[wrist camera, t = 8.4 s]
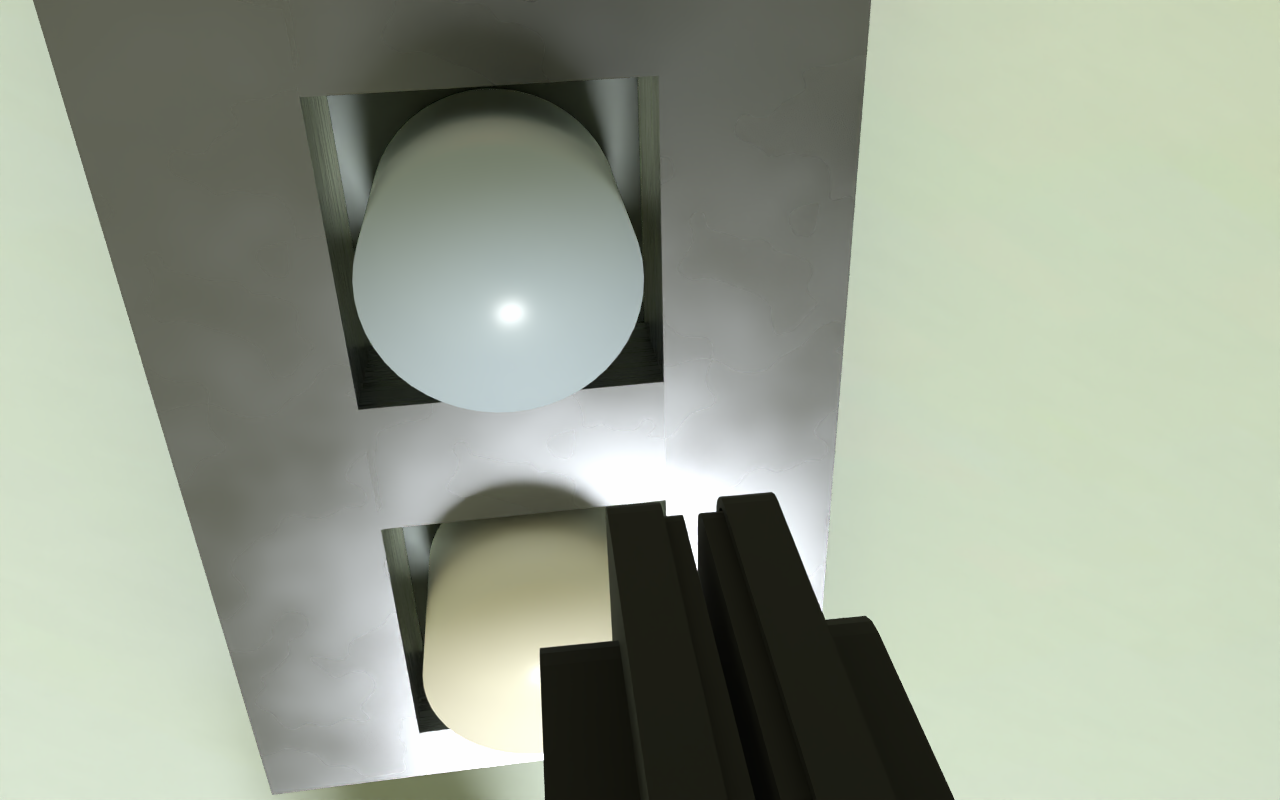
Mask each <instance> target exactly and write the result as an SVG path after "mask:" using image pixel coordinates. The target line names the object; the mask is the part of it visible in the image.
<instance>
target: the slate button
mask: <svg viewBox="0 0 1280 800" xmlns="http://www.w3.org/2000/svg"><path fill="white" fill-rule="evenodd" d="M352 283H353V293H354V301H355V305H356V309H357V313H358V317H359V319H360V322H361V324H362V326H363V329H364V331H365V334H366V335H367V337H368V339H369V341H370V342H371V344H372V346H373V347H374V349H375V350H376V352H377V353H378V354H379V355H380V357H381V358H382V359H383V361H384V362H385V363H386V364H387V365H388V366H389V367H390V368H391V369H392V370H393V371H394V372H395V373H396V374H397V375H398V376H399V377H401V378H402V379H403V380H404V381H406V382H407V383H408V384H410V385H411V386H412V387H414V388H416V389H417V390H419V391H421V392H422V393H424V394H426V395H428V396H430V397H432V398H434V399H437V400H439V401H441V402H443V403H447V404H450V405H453V406H456V407H459V408H464V409H469V410H474V411H482V412H495V413H498V412H517V411H523V410H530V409H534V408H538V407H542V406H545V405H549V404H551V403H554V402H557V401H559V400H562V399H564V398H566V397H568V396H570V395H572V394H574V393H575V392H577V391H579V390H581V389H582V388H584V387H585V386H586V385H588V384H589V383H591V382H592V381H594V380H595V379H596V378H597V377H598V376H599V375H600V374H602V373H603V372H604V371H605V370H606V369H607V368H608V367H609V366H610V364H611V363H612V362H613V361H614V360H615V359H616V358H617V356H618V355H619V354H620V352H621V351H622V349H623V348H624V346H625V345H626V343H627V341H628V339H629V337H630V335H631V333H632V331H633V329H634V327H635V324H636V321H637V318H638V315H639V312H640V308H641V303H642V298H643V287H644V272H643V262H642V256H641V252H640V248H639V244H638V241H637V238H636V235H635V233H634V230H633V227H632V225H631V222H630V219H629V217H628V214H627V211H626V209H625V206H624V203H623V201H622V198H621V195H620V193H619V190H618V187H617V185H616V182H615V179H614V176H613V174H612V171H611V169H610V166H609V164H608V161H607V159H606V157H605V155H604V153H603V152H602V150H601V148H600V146H599V145H598V143H597V142H596V141H595V139H594V138H593V137H592V135H591V134H590V133H589V132H588V131H587V130H586V129H585V128H584V127H583V126H582V125H581V124H580V123H579V122H578V121H577V120H576V119H575V118H574V117H572V116H571V115H570V114H568V113H567V112H566V111H565V110H563V109H561V108H559V107H558V106H556V105H554V104H553V103H551V102H549V101H546V100H544V99H542V98H539V97H537V96H534V95H531V94H527V93H523V92H520V91H514V90H507V89H478V90H470V91H465V92H461V93H457V94H454V95H450V96H448V97H446V98H443V99H441V100H438V101H436V102H434V103H432V104H431V105H429V106H427V107H426V108H424V109H422V110H421V111H419V112H418V113H417V114H416V115H414V116H413V117H412V118H411V119H409V120H408V121H407V122H406V123H405V124H404V125H403V126H402V127H401V128H400V130H399V131H398V132H397V133H396V134H395V136H394V137H393V138H392V140H391V141H390V143H389V144H388V146H387V147H386V149H385V151H384V153H383V155H382V157H381V159H380V162H379V165H378V167H377V170H376V173H375V177H374V181H373V184H372V188H371V192H370V196H369V200H368V204H367V208H366V212H365V215H364V219H363V223H362V227H361V231H360V235H359V239H358V243H357V247H356V252H355V257H354V262H353V280H352Z"/></svg>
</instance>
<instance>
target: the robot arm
mask: <svg viewBox="0 0 1280 800" xmlns="http://www.w3.org/2000/svg"><path fill="white" fill-rule="evenodd" d="M606 534H607V552H608V570H609V588H610V607H611V625H612V641H606V642H596V643H586V644H576V645H566V646H555V647H545V648H540V682H541V708H542V733H543V759H544V784H545V800H954V797H953V795H952V793H951V791H950V789H949V786H948V784H947V782H946V780H945V778H944V775H943V773H942V771H941V769H940V767H939V764H938V762H937V760H936V758H935V756H934V753H933V751H932V749H931V747H930V745H929V742H928V740H927V738H926V736H925V734H924V731H923V729H922V727H921V725H920V723H919V720H918V718H917V716H916V714H915V712H914V709H913V707H912V705H911V703H910V701H909V698H908V696H907V694H906V692H905V690H904V687H903V685H902V683H901V681H900V679H899V676H898V674H897V672H896V670H895V668H894V666H893V663H892V661H891V659H890V657H889V655H888V652H887V650H886V648H885V646H884V644H883V641H882V639H881V637H880V635H879V633H878V631H877V629H876V627H875V626H874V624H873V622H872V621H871V620H870V619H869V618H867V617H866V616H860V617H850V618H839V619H829V620H825V618H824V615H823V613H822V610H821V608H820V605H819V603H818V600H817V598H816V595H815V592H814V590H813V587H812V585H811V582H810V580H809V577H808V575H807V572H806V570H805V567H804V565H803V562H802V560H801V557H800V555H799V552H798V550H797V547H796V545H795V542H794V539H793V537H792V534H791V532H790V529H789V527H788V524H787V522H786V519H785V517H784V514H783V512H782V509H781V507H780V504H779V502H778V499H777V497H776V495H775V494H774V493H773V492H767V493H755V494H744V495H733V496H721V497H719V498H718V499H717V505H716V512H705V513H699V515H698V525H697V549H698V571H697V567H696V563H695V559H694V555H693V551H692V547H691V543H690V539H689V535H688V531H687V527H686V523H685V520H684V516H683V515H671V516H664V514H663V510H662V506H661V503H660V502H653V503H641V504H630V505H619V506H607V507H606Z"/></svg>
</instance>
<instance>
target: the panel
mask: <svg viewBox="0 0 1280 800" xmlns="http://www.w3.org/2000/svg"><path fill="white" fill-rule="evenodd" d="M33 2H34V5H35V8H36V11H37V15H38V18H39V21H40V25H41V28H42V31H43V35H44V38H45V41H46V45H47V48H48V51H49V55H50V58H51V61H52V65H53V68H54V71H55V75H56V78H57V81H58V85H59V88H60V91H61V95H62V98H63V101H64V105H65V108H66V111H67V114H68V118H69V121H70V124H71V128H72V131H73V134H74V138H75V141H76V144H77V148H78V151H79V154H80V158H81V161H82V164H83V168H84V171H85V174H86V178H87V181H88V184H89V188H90V191H91V194H92V198H93V201H94V204H95V208H96V211H97V214H98V217H99V221H100V224H101V227H102V231H103V234H104V237H105V241H106V244H107V247H108V251H109V254H110V257H111V261H112V264H113V267H114V271H115V274H116V277H117V281H118V284H119V287H120V291H121V294H122V297H123V301H124V304H125V307H126V310H127V314H128V317H129V320H130V324H131V327H132V330H133V334H134V337H135V340H136V344H137V347H138V350H139V354H140V357H141V360H142V364H143V367H144V370H145V374H146V377H147V380H148V384H149V387H150V390H151V394H152V397H153V400H154V404H155V407H156V410H157V413H158V417H159V420H160V423H161V427H162V430H163V433H164V437H165V440H166V443H167V447H168V450H169V453H170V457H171V460H172V463H173V467H174V470H175V473H176V477H177V480H178V483H179V487H180V490H181V493H182V497H183V500H184V503H185V507H186V510H187V513H188V516H189V520H190V523H191V526H192V530H193V533H194V536H195V540H196V543H197V546H198V550H199V553H200V556H201V560H202V563H203V566H204V570H205V573H206V576H207V580H208V583H209V586H210V590H211V593H212V596H213V600H214V603H215V606H216V610H217V613H218V616H219V619H220V623H221V626H222V629H223V633H224V636H225V639H226V643H227V646H228V649H229V653H230V656H231V659H232V663H233V666H234V669H235V673H236V676H237V679H238V683H239V686H240V689H241V693H242V696H243V699H244V703H245V706H246V709H247V713H248V716H249V719H250V722H251V726H252V729H253V732H254V736H255V739H256V742H257V746H258V749H259V752H260V756H261V759H262V762H263V766H264V769H265V772H266V776H267V779H268V782H269V786H270V789H271V792H272V795H274V794H282V793H290V792H298V791H305V790H313V789H321V788H329V787H336V786H344V785H352V784H360V783H368V782H375V781H383V780H391V779H399V778H406V777H414V776H422V775H430V774H437V773H445V772H453V771H461V770H469V769H476V768H484V767H492V766H500V765H507V764H515V763H523V762H531V761H539V760H544V759H543V753H542V754H515V753H506V752H501V751H496V750H491V749H488V748H485V747H482V746H479V745H477V744H474V743H472V742H470V741H468V740H466V739H464V738H462V737H461V736H459V735H457V734H456V733H455V732H453V731H452V730H451V729H449V728H448V727H447V726H446V725H445V724H444V723H443V722H442V721H441V720H440V719H439V718H438V717H437V715H436V714H435V712H434V711H433V709H432V708H431V706H430V704H429V702H428V699H427V697H426V693H425V690H424V685H423V662H424V649H423V644H422V638H421V632H420V626H419V621H418V615H417V609H416V604H415V598H414V592H413V586H412V581H411V575H410V569H409V564H408V558H407V552H406V547H405V541H404V535H403V529H402V527H410V526H419V525H429V524H439V523H448V522H458V521H468V520H477V519H487V518H497V517H506V516H516V515H526V514H535V513H545V512H555V511H564V510H574V509H584V508H593V507H603V506H613V505H622V504H632V503H641V502H649V503H653V502H660V503H661V506H662V510H663V514H664V516H671V515H683V516H684V520H685V523H686V527H687V531H688V535H689V539H690V543H691V547H692V551H693V555H694V559H695V563H696V567H697V571H698V549H697V525H698V515H699V513H705V512H716V505H717V499H718V498H719V497H721V496H733V495H744V494H755V493H767V492H773V493H774V494H775V495H776V497H777V499H778V502H779V504H780V507H781V509H782V512H783V514H784V517H785V519H786V522H787V524H788V527H789V529H790V532H791V534H792V537H793V539H794V542H795V545H796V547H797V550H798V552H799V555H800V557H801V560H802V562H803V565H804V567H805V570H806V572H807V575H808V577H809V580H810V582H811V585H812V587H813V590H814V592H815V595H816V598H817V600H818V603H819V605H820V608H821V610H822V608H823V596H824V583H825V571H826V558H827V545H828V533H829V520H830V508H831V495H832V483H833V470H834V458H835V445H836V433H837V420H838V408H839V395H840V382H841V370H842V357H843V345H844V332H845V320H846V307H847V295H848V282H849V270H850V257H851V245H852V232H853V220H854V207H855V194H856V182H857V169H858V157H859V144H860V132H861V119H862V107H863V94H864V82H865V69H866V57H867V44H868V32H869V19H870V6H871V0H33ZM630 77H638V107H639V144H640V181H641V217H642V254H643V272H644V287H643V291H644V322H641V323H636V324H635V327H634V329H633V331H632V333H631V335H630V337H629V339H628V341H627V343H626V345H625V346H624V348H623V349H622V351H621V352H620V354H619V355H618V356H617V358H616V359H615V360H614V361H613V362H612V363H611V364H610V366H609V367H608V368H607V369H606V370H605V371H604V372H603V373H602V374H600V375H599V376H598V377H597V378H596V379H595V380H594V381H592V382H591V383H589V384H588V385H586V386H585V387H584V388H582V389H581V390H579V391H577V392H575V393H574V394H572V395H570V396H568V397H566V398H564V399H562V400H559V401H557V402H554V403H551V404H549V405H545V406H542V407H538V408H534V409H530V410H523V411H517V412H498V413H495V412H482V411H474V410H469V409H464V408H459V407H456V406H453V405H450V404H447V403H443V402H441V401H439V400H437V399H434V398H432V397H430V396H428V395H426V394H424V393H422V392H421V391H419V390H417V389H416V388H414V387H412V386H411V385H410V384H408V383H407V382H406V381H404V380H403V379H402V378H401V377H399V376H398V375H397V374H396V373H395V372H394V371H393V370H392V369H391V368H390V367H389V366H388V365H387V364H386V363H385V362H384V361H383V359H382V358H381V357H380V355H379V354H378V353H377V352H376V350H375V349H374V347H373V346H372V345H370V341H369V339H368V337H367V335H366V334H365V331H364V329H363V326H362V324H361V322H360V319H359V317H358V313H357V309H356V305H355V301H354V293H353V283H352V280H353V262H354V257H355V256H354V250H353V244H352V238H351V233H350V227H349V221H348V216H347V210H346V204H345V199H344V193H343V187H342V181H341V176H340V170H339V164H338V159H337V153H336V147H335V141H334V136H333V130H332V124H331V119H330V113H329V107H328V102H327V96H330V95H346V94H363V93H380V92H397V91H413V90H430V89H447V88H463V87H480V86H497V85H513V84H530V83H547V82H564V81H580V80H597V79H614V78H630Z"/></svg>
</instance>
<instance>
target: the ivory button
mask: <svg viewBox="0 0 1280 800" xmlns="http://www.w3.org/2000/svg"><path fill="white" fill-rule="evenodd" d="M606 507H607V506H603V507H593V508H584V509H574V510H564V511H555V512H545V513H535V514H526V515H516V516H506V517H497V518H487V519H477V520H468V521H458V522H448V523H442V524H441V525H440V527H439V528H438V530H437V532H436V534H435V537H434V539H433V542H432V546H431V549H430V557H429V573H428V590H427V608H426V626H425V644H424V662H423V685H424V690H425V693H426V697H427V699H428V702H429V704H430V706H431V708H432V709H433V711H434V712H435V714H436V715H437V717H438V718H439V719H440V720H441V721H442V722H443V723H444V724H445V725H446V726H447V727H448V728H449V729H451V730H452V731H453V732H455V733H456V734H457V735H459V736H461V737H462V738H464V739H466V740H468V741H470V742H472V743H474V744H477V745H479V746H482V747H485V748H488V749H491V750H496V751H501V752H506V753H515V754H542V753H543V733H542V708H541V682H540V648H545V647H555V646H566V645H576V644H586V643H596V642H606V641H612V625H611V607H610V588H609V570H608V552H607V534H606Z"/></svg>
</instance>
